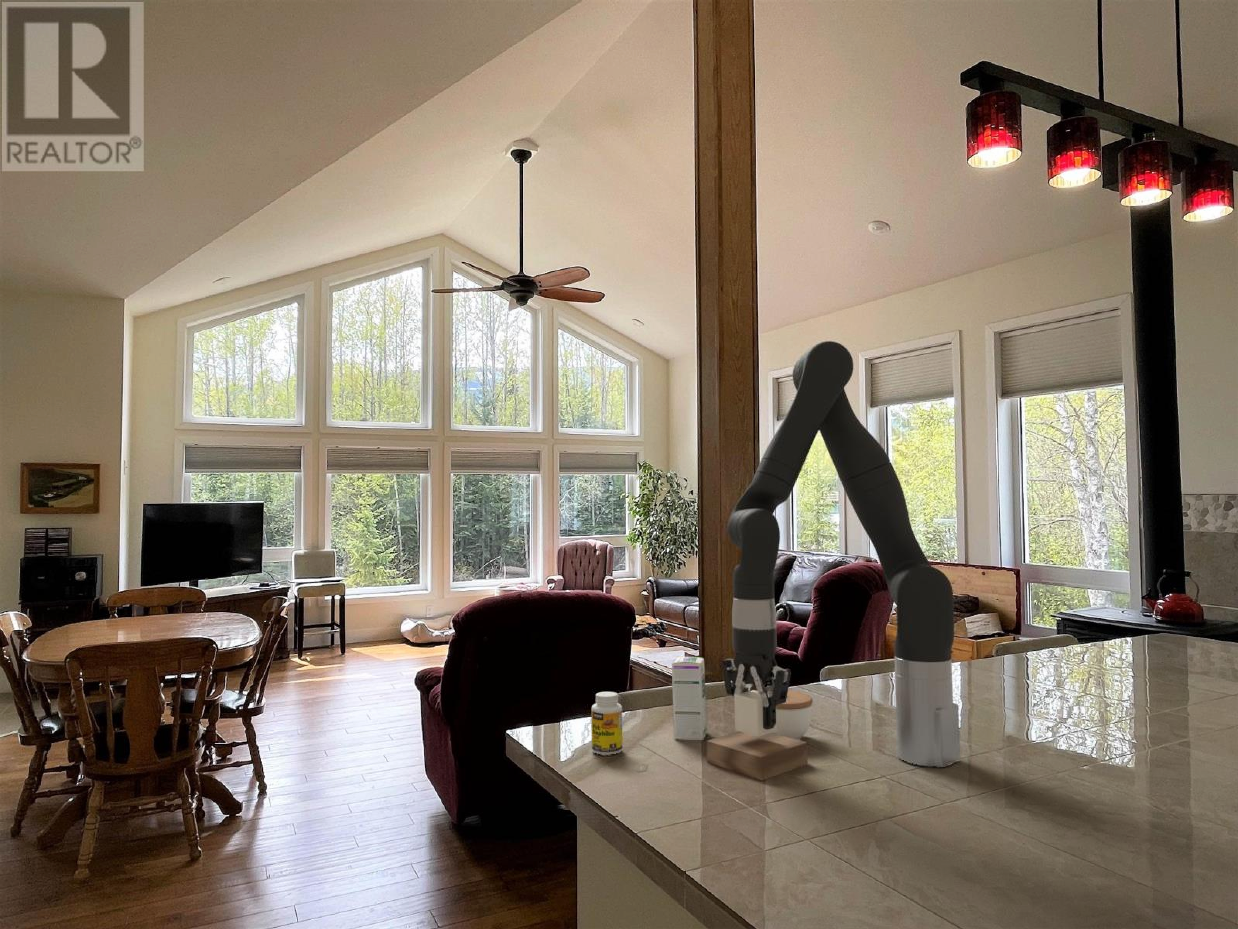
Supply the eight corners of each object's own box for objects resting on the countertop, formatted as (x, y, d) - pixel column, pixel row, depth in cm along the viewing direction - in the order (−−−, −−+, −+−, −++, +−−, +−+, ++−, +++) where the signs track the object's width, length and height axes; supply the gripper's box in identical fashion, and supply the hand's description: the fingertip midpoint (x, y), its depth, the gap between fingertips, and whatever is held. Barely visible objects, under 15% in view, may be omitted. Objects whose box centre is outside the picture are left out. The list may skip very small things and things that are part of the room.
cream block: (776, 731, 134) (776, 695, 134) (757, 736, 131) (757, 699, 131) (754, 724, 138) (753, 690, 138) (735, 730, 135) (734, 694, 135)
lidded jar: (814, 748, 142) (813, 695, 142) (754, 745, 144) (753, 693, 144) (812, 732, 152) (811, 682, 153) (756, 729, 154) (755, 681, 155)
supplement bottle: (587, 755, 139) (586, 696, 140) (597, 746, 144) (596, 689, 145) (617, 758, 137) (616, 698, 138) (626, 748, 143) (625, 691, 143)
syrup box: (704, 741, 147) (702, 662, 148) (672, 739, 148) (671, 661, 149) (706, 732, 152) (705, 656, 153) (676, 731, 154) (675, 656, 154)
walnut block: (807, 766, 133) (807, 742, 133) (762, 783, 125) (761, 757, 126) (752, 750, 142) (752, 727, 142) (707, 764, 134) (706, 741, 135)
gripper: (801, 627, 132) (803, 730, 131) (737, 618, 143) (738, 713, 142) (773, 631, 127) (775, 738, 126) (708, 622, 138) (709, 720, 137)
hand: (755, 724), depth 134 cm, fingers closed on cream block, 5 cm apart
